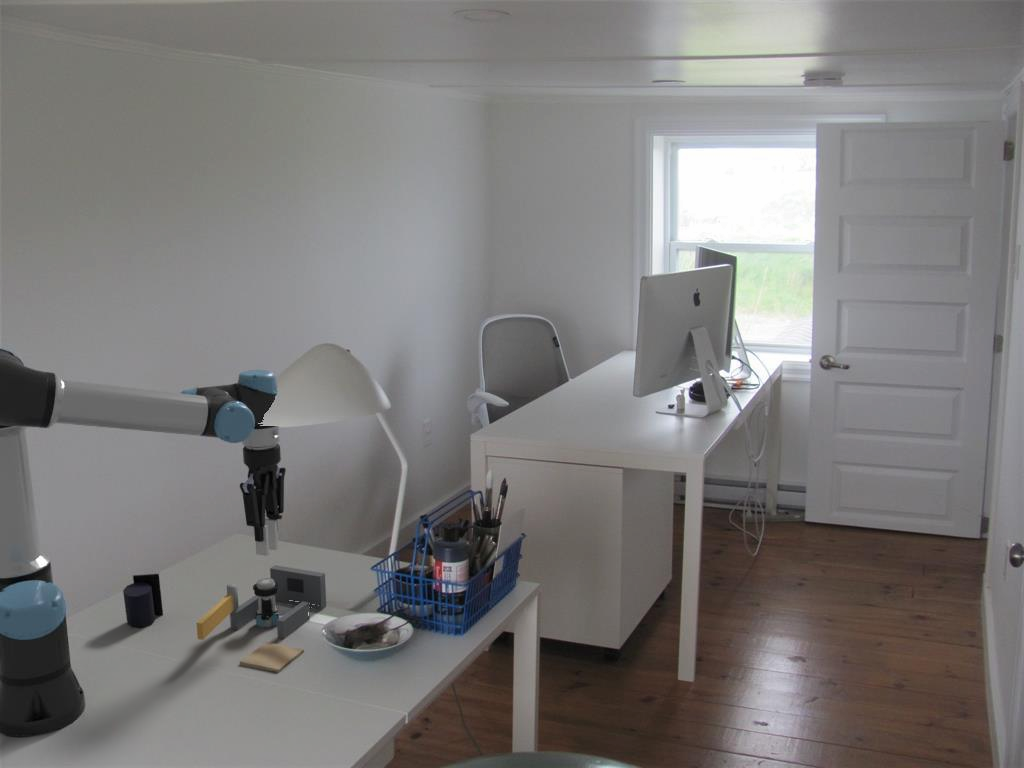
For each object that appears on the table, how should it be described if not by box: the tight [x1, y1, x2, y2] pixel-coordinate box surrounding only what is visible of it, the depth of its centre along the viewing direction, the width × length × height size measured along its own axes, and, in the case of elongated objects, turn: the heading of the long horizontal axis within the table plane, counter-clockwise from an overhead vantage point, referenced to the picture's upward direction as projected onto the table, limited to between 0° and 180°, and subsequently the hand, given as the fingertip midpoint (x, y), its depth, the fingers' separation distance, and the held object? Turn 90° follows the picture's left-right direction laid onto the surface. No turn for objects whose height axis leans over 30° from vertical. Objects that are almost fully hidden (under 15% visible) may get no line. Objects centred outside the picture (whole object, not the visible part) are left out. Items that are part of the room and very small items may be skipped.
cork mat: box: [239, 641, 305, 673], centre depth 203 cm, size 9×9×1 cm
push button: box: [252, 577, 284, 629], centre depth 217 cm, size 7×5×10 cm
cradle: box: [229, 564, 327, 640], centre depth 221 cm, size 17×14×8 cm
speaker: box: [122, 573, 164, 629], centre depth 218 cm, size 8×6×10 cm
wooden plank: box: [196, 583, 240, 640], centre depth 209 cm, size 16×2×5 cm, turn 170°
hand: (267, 551), depth 215 cm, fingers open, 3 cm apart
